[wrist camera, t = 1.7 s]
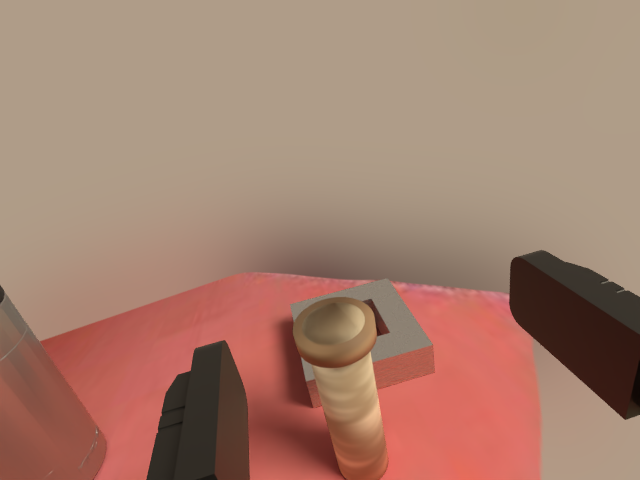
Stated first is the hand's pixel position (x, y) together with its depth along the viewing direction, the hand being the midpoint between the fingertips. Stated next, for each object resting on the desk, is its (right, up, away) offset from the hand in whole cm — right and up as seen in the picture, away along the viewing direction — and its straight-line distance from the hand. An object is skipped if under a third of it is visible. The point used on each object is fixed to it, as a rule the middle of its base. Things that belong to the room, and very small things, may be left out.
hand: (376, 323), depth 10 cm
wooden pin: (+2, -15, +20) cm, 25 cm away
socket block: (+2, -9, +31) cm, 32 cm away
